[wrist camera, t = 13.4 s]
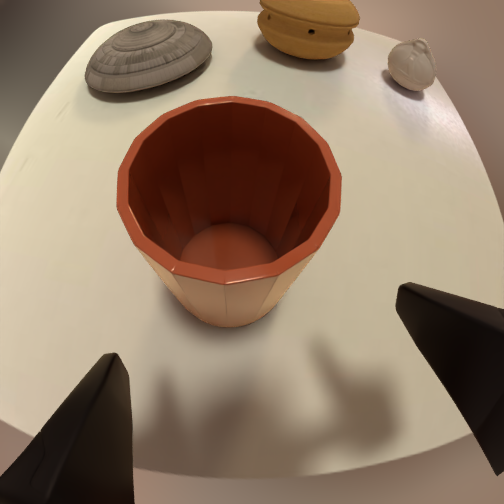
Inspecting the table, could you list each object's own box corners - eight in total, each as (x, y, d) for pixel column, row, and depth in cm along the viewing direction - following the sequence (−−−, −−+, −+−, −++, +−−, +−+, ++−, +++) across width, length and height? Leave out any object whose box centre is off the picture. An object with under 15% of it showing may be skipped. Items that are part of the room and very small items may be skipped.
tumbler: (273, 337, 18) (332, 306, 8) (162, 312, 18) (83, 250, 8) (291, 234, 20) (342, 118, 10) (190, 213, 20) (164, 88, 10)
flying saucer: (82, 64, 27) (71, 33, 22) (184, 26, 31) (182, -5, 26) (99, 123, 23) (81, 81, 18) (235, 71, 27) (238, 29, 22)
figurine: (430, 91, 30) (455, 51, 22) (415, 106, 28) (443, 59, 20) (393, 64, 31) (412, 22, 24) (372, 75, 29) (393, 26, 22)
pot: (284, 23, 33) (293, -33, 23) (358, 53, 31) (378, -4, 22) (235, 47, 29) (239, -23, 20) (323, 84, 27) (347, 7, 18)
